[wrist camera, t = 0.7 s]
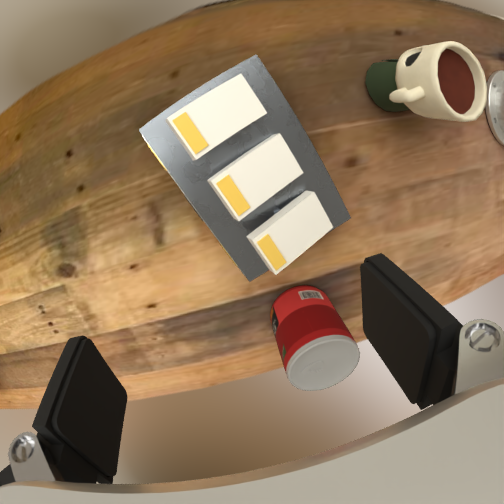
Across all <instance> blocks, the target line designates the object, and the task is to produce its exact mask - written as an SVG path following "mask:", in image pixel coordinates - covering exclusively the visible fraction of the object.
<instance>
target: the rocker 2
mask: <svg viewBox="0 0 504 504" xmlns="http://www.w3.org/2000/svg"><path fill="white" fill-rule="evenodd" d="M301 174H303V171H302V169H301V168H300V166H299V164H298V163H297V161H296V159H295V157H294V156H293V154H292V152H291V151H290V149H289V147H288V146H287V144H286V142H285V141H284V139H283V137H282V136H281V134H280V133H279V134H274V135H272V136H270V137H269V138H267V139H266V140H264V141H263V142H261V143H260V144H258V145H257V146H255V147H254V148H252V149H251V150H249V151H248V152H246V153H245V154H243V155H242V156H240V157H239V158H238V159H236V160H235V161H233V162H232V163H230V164H229V165H228V166H226V167H225V168H223V169H222V170H220V171H219V172H218V173H216V174H215V175H213V176H212V177H211V178H209V179H208V180H207V181H208V183H209V184H210V185H211V187H212V188H213V190H214V191H215V193H216V194H217V195H218V197H219V198H220V200H221V201H222V203H223V204H224V205H225V207H226V208H227V210H228V211H229V213H230V214H231V215H232V217H233V218H234V219H236V220H237V221H240V220H241V219H243V218H244V217H245V216H247V215H248V214H249V213H251V212H252V211H253V210H254V209H256V208H257V207H258V206H260V205H261V204H262V203H264V202H265V201H266V200H268V199H269V198H270V197H272V196H273V195H274V194H276V193H277V192H278V191H280V190H281V189H282V188H284V187H285V186H286V185H288V184H289V183H290V182H292V181H293V180H294V179H296V178H297V177H299V176H300V175H301Z"/></svg>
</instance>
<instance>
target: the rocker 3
mask: <svg viewBox="0 0 504 504" xmlns="http://www.w3.org/2000/svg"><path fill="white" fill-rule="evenodd" d="M332 228H333V226H332V224H331V222H330V220H329V218H328V216H327V214H326V213H325V211H324V209H323V207H322V205H321V203H320V201H319V200H318V198H317V196H316V194H315V192H312V191H304V192H303V193H302V194H301V195H299V196H298V197H297V198H295V199H294V200H293V201H291V202H290V203H289V204H288V205H286V206H285V207H284V208H282V209H281V210H280V211H278V212H277V213H276V214H275V215H273V216H272V217H271V218H269V219H268V220H267V221H266V222H264V223H263V224H262V225H260V226H259V227H258V228H257V229H255V230H254V231H253V232H251V233H250V234H249V235H248V236H246V237H247V238H248V240H249V241H250V243H251V244H252V246H253V247H254V248H255V250H256V251H257V253H258V254H259V256H260V257H261V258H262V260H263V261H264V263H265V264H266V266H267V267H268V269H269V270H270V271H272V272H273V273H274V274H275V275H277V274H278V273H279V272H280V271H282V270H283V269H284V268H285V267H286V266H288V265H289V264H290V263H291V262H293V261H294V260H295V259H296V258H297V257H299V256H300V255H301V254H302V253H303V252H305V251H306V250H307V249H308V248H309V247H311V246H312V245H313V244H314V243H315V242H317V241H318V240H319V239H320V238H321V237H323V236H324V235H325V234H326V233H327V232H328V231H330V230H331V229H332Z"/></svg>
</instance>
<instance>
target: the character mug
mask: <svg viewBox="0 0 504 504" xmlns="http://www.w3.org/2000/svg"><path fill="white" fill-rule="evenodd" d="M382 61H389V62H379V63H373V64H372V65H371V67H370V68H369V70H368V71H367V75H366V82H365V83H366V86H367V89H368V92H369V95H370V96H371V97H372V99H373V100H374V102H375V103H376V105H378V106H379V107H381V108H382V109H384V110H385V111H392V112H398V111H405V110H411V111H412V112H413V113H415V114H418V115H421V116H424V117H426V118H434V119H444V120H452V121H460V122H467V121H474V120H476V119H477V118H478V117H479V116H480V115H481V114H482V113H483V110H484V108H485V105H486V102H487V83H486V79H485V74H484V72H483V69H482V67H481V65H480V63H479V61H478V60H477V58H476V57H475V56H474V55H473V54H472V52H471V51H470V50H469V49H468V48H466V47H465V46H463V45H462V44H460V43H457V42H453V41H449V42H442V43H437V44H432V45H426V46H421V47H418V48H413V49H410V50H408V51H406V52H404V53H403V54H402V55H401V56H400V58H399V60H398V59H390V60H382Z"/></svg>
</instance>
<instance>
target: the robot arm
mask: <svg viewBox="0 0 504 504" xmlns="http://www.w3.org/2000/svg"><path fill="white" fill-rule="evenodd" d="M485 109H486V115H487V119H488V123H489V125H490V128H491V131H492V133H493V135H494V136H495V138H496V139H497V141H498V142H499V143H500V144H502V145H504V71H495V72H494V73H492V75H491V76H490V77H489V79H488V82H487V102H486V105H485ZM360 271H361V288H362V312H363V330H364V333H365V335H366V337H367V339H368V340H369V341H370V343H371V344H372V346H373V347H374V348H375V350H376V352H377V353H378V354H379V356H380V357H381V359H382V360H383V362H384V363H385V365H386V366H387V368H388V369H389V371H390V372H391V374H392V375H393V377H394V378H395V380H396V381H397V382H398V384H399V386H400V387H401V388H402V390H403V392H404V393H405V395H406V396H407V398H408V399H409V401H410V402H411V403H412V404H415V403H417V405H418V406H419V408H420V409H421V410H422V409H424V408H426V407H428V406H430V405H431V404H433V406H431V407H429V408H427V409H425V410H423V411H421V412H419V413H417V414H415V415H413V416H411V417H409V418H407V419H404V420H402V421H400V422H398V423H396V424H394V425H391V426H389V427H386V428H384V429H382V430H379V431H377V432H375V433H372V434H370V435H367V436H365V437H363V438H360V439H357V440H355V441H353V442H350V443H347V444H344V445H341V446H338V447H336V448H333V449H330V450H327V451H324V452H321V453H317V454H314V455H311V456H308V457H304V458H301V459H298V460H294V461H290V462H287V463H282V464H279V465H275V466H270V467H266V468H262V469H258V470H253V471H248V472H243V473H237V474H232V475H226V476H220V477H214V478H206V479H199V480H190V481H180V482H168V483H153V484H112V483H113V476H115V475H116V472H117V464H118V456H119V449H120V441H121V434H122V428H123V421H124V414H125V409H126V403H127V393H126V390H125V389H124V387H123V386H122V385H121V383H120V382H119V380H118V379H117V378H116V376H115V375H114V373H113V372H112V371H111V369H110V368H109V366H108V365H107V363H106V362H105V360H104V359H103V357H102V356H101V354H100V353H99V351H98V350H97V348H96V346H95V345H94V343H93V342H92V340H90V339H87V337H85V336H78V337H74V338H70V339H69V340H68V342H67V344H66V346H65V348H64V350H63V352H62V354H61V357H60V359H59V361H58V363H57V365H56V368H55V370H54V372H53V375H52V377H51V379H50V382H49V384H48V386H47V389H46V391H45V394H44V396H43V399H42V401H41V404H40V406H39V409H38V411H37V414H36V417H35V420H34V422H33V425H32V427H33V428H34V429H35V430H36V431H37V432H38V433H37V436H36V435H35V434H33V433H31V432H25V433H22V434H20V435H18V436H17V437H16V438H15V439H14V440H13V442H12V443H11V445H10V448H9V452H8V456H9V461H10V465H8V466H7V467H6V468H5V469H3V470H2V471H1V472H0V504H504V332H503V330H502V329H501V327H499V326H498V325H497V324H496V323H494V322H491V321H489V320H484V319H477V320H473V321H470V322H468V323H466V324H465V325H464V326H463V325H462V324H461V323H460V322H458V320H457V319H456V318H455V317H454V316H453V315H452V314H451V313H449V312H448V311H447V310H446V309H445V308H444V307H443V306H442V305H441V304H440V303H439V302H438V301H436V300H435V299H434V298H433V297H432V296H431V295H430V294H429V293H428V292H426V291H425V290H424V289H423V288H422V287H421V286H420V285H419V284H417V283H416V282H415V281H414V280H413V279H412V278H411V277H409V276H408V275H407V274H406V273H405V272H404V271H402V270H401V269H400V268H399V267H398V266H397V265H395V264H394V263H393V262H392V261H391V260H389V259H388V258H387V257H386V256H385V255H383V254H382V253H380V254H377V255H374V256H371V257H368V258H365V260H364V263H363V264H361V266H360ZM96 481H97V482H98V483H100V484H96Z"/></svg>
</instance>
